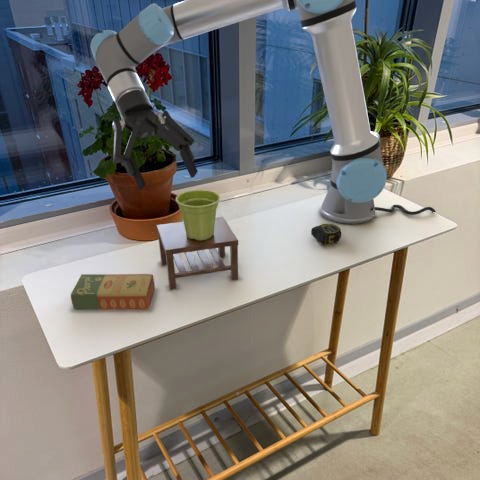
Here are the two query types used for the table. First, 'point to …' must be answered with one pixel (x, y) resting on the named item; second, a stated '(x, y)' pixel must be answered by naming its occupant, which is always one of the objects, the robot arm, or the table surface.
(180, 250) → the coffee table
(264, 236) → the table surface
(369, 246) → the table surface
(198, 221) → the plant pot
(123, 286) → the carton
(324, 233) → the tape measure
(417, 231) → the table surface
